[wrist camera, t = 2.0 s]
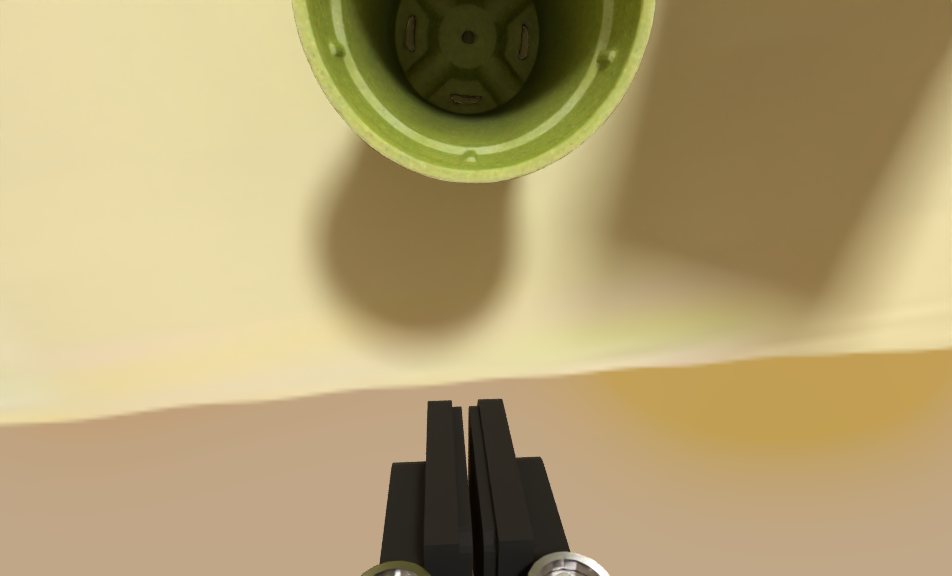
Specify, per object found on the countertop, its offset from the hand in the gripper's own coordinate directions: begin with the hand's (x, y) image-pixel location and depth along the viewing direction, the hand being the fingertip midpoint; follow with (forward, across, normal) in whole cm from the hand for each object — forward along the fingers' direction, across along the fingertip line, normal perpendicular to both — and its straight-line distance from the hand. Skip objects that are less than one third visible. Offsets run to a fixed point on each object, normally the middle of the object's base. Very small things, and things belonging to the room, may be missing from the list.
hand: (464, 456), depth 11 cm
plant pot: (+14, -1, -10) cm, 17 cm away
